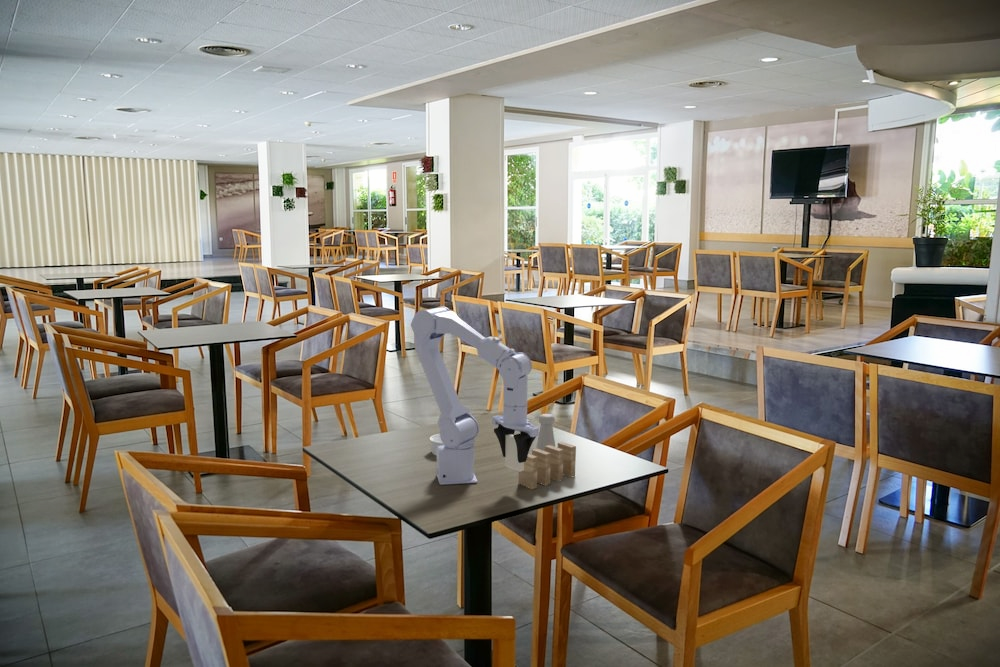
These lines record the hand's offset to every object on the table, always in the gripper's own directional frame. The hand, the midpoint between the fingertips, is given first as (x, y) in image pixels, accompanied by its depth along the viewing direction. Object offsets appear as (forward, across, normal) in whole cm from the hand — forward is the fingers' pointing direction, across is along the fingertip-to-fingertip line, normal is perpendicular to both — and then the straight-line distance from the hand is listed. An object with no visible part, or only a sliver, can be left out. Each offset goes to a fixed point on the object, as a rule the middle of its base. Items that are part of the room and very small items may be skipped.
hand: (514, 458), depth 186 cm
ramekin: (+8, +34, -5) cm, 36 cm away
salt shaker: (+8, +11, -21) cm, 25 cm away
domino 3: (+8, 0, -14) cm, 16 cm away
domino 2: (+8, 0, -9) cm, 12 cm away
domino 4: (+8, 0, -18) cm, 20 cm away
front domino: (+2, 0, 0) cm, 2 cm away
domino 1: (+8, 0, -4) cm, 9 cm away
